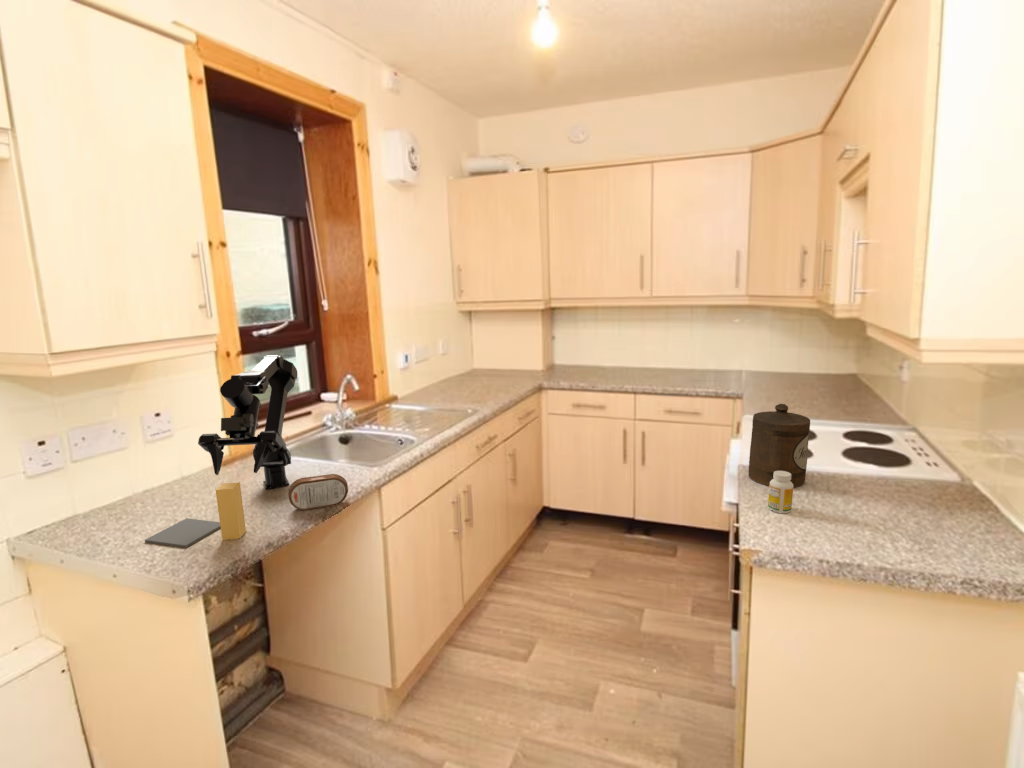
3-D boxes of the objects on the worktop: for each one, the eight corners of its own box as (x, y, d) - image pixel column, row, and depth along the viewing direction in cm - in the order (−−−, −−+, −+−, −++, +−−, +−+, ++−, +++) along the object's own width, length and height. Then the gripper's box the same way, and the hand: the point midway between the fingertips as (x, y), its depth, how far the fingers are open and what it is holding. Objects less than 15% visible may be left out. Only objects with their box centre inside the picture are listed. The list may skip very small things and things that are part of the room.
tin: (348, 500, 154) (346, 470, 152) (349, 504, 151) (347, 474, 149) (289, 509, 148) (286, 479, 147) (289, 513, 146) (286, 483, 144)
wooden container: (810, 490, 152) (817, 411, 148) (751, 486, 156) (756, 409, 152) (799, 471, 166) (805, 399, 162) (745, 468, 170) (749, 397, 166)
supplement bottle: (768, 512, 139) (771, 476, 137) (766, 504, 144) (769, 468, 142) (792, 515, 137) (795, 478, 136) (790, 506, 142) (792, 470, 140)
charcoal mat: (144, 542, 132) (144, 539, 132) (186, 520, 143) (186, 518, 143) (186, 547, 128) (185, 545, 128) (225, 525, 140) (225, 522, 140)
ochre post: (228, 532, 136) (222, 483, 133) (246, 531, 136) (239, 482, 134) (222, 540, 132) (215, 489, 129) (240, 538, 132) (233, 488, 130)
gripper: (194, 403, 138) (181, 463, 131) (272, 400, 139) (263, 459, 132) (213, 423, 148) (201, 479, 140) (286, 419, 149) (278, 475, 142)
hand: (235, 473), depth 138 cm, fingers open, 9 cm apart
